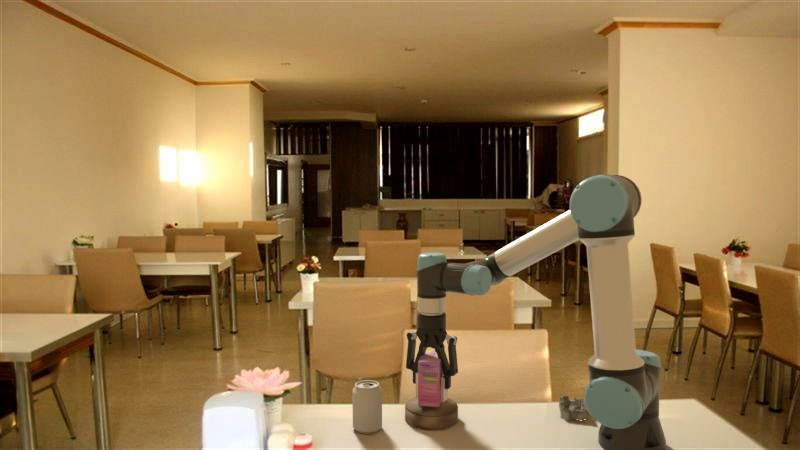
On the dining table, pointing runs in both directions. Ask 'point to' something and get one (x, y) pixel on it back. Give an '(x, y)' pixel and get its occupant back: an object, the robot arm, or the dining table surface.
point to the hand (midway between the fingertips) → (431, 397)
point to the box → (429, 379)
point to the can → (367, 406)
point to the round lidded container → (431, 415)
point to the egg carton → (572, 408)
